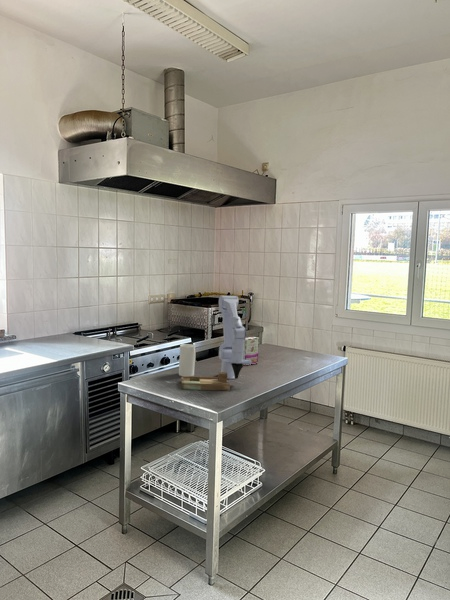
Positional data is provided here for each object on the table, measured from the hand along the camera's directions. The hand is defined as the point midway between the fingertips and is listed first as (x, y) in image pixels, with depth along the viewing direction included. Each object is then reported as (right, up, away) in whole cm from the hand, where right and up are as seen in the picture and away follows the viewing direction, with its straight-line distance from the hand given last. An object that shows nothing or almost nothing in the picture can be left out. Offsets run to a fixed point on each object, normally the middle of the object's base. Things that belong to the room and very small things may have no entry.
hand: (236, 378), depth 224 cm
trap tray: (-16, -3, -5) cm, 17 cm away
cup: (-26, -1, +15) cm, 30 cm away
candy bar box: (+9, 0, +47) cm, 48 cm away
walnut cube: (-7, -1, -1) cm, 7 cm away
